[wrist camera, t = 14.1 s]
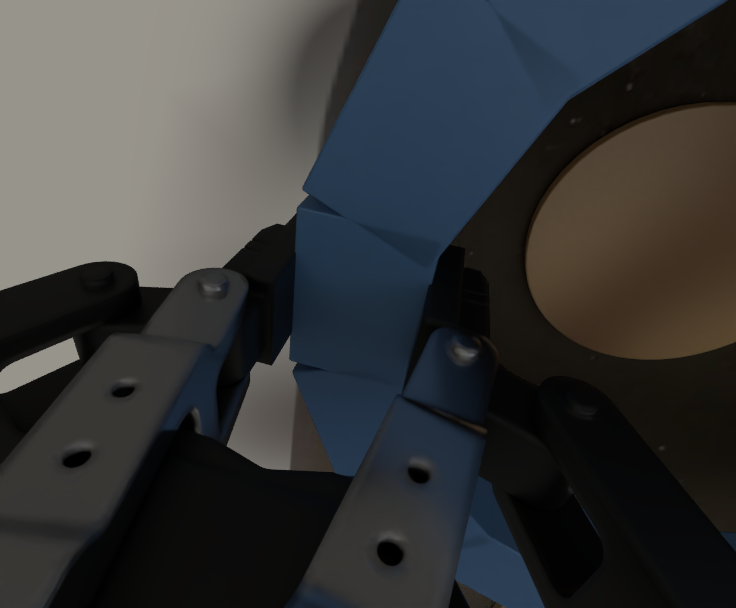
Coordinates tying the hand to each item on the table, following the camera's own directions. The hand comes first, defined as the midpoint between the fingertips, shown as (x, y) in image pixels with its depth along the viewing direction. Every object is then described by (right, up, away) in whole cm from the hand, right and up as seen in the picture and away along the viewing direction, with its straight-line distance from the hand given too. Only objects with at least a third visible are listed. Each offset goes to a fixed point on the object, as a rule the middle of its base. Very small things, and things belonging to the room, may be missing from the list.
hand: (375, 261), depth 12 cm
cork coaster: (+11, +1, +5) cm, 12 cm away
